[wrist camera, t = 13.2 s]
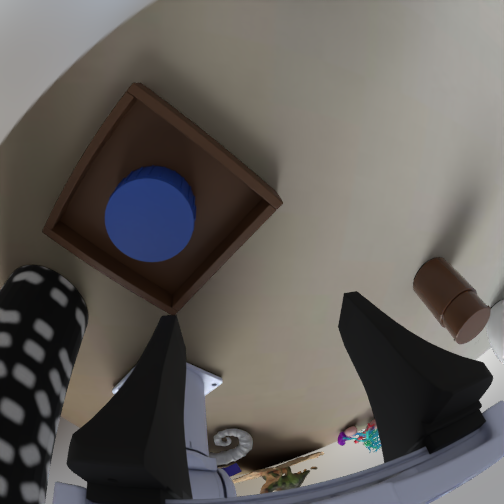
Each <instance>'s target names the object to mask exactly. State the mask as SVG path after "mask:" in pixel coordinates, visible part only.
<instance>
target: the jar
mask: <svg viewBox="0 0 504 504" xmlns="http://www.w3.org/2000/svg"><path fill="white" fill-rule="evenodd" d="M413 288H414V291H415V293H416V294H417V295H418V296H419V298H420V299H421V300H422V301H423V303H424V304H425V305H426V306H427V308H428V309H429V310H430V311H431V313H432V314H433V315H434V317H435V318H436V319H437V321H438V322H439V323H440V324H441V326H442V327H444V328H446V329H447V330H448V331H449V333H450V334H451V335H452V337H453V338H454V341H456V342H457V343H458V344H464V343H467V342H469V341H470V340H472V339H473V338H475V337H476V336H477V335H478V334H479V333H480V332H481V331H482V330H483V328H484V327H485V325H486V324H487V322H488V320H489V318H490V314H491V308H490V307H489V305H488V306H487V305H486V304H485V303H484V302H483V301H482V300H481V299H480V298H479V297H478V295H477V292H476V290H475V289H474V288H473V287H472V286H471V285H470V284H469V283H468V282H467V281H466V280H465V279H464V278H463V277H462V276H461V275H460V274H459V273H458V272H457V271H456V270H455V269H454V268H453V267H452V266H451V265H450V264H449V263H448V262H447V261H446V260H445V259H444V258H440V257H439V258H434V259H431V260H430V261H428V262H427V263H425V264H424V265H423V266H422V267H421V268H420V270H419V271H418V273H417V274H416V276H415V279H414V283H413Z"/></svg>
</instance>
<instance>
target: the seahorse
mask: <svg viewBox="0 0 504 504" xmlns="http://www.w3.org/2000/svg"><path fill="white" fill-rule="evenodd" d="M231 435H233V436H235V437H238V439H239V445H237V446H236V448H234V449H229V450H228V451H222V452H220V453H213V452H210V453H209V457H210V458H216V462H217V466H218V465H221V464H228V463H230V462H232V461H237V460H238V459H240V458H242V457H243V456H246V454H247V453H248V452H249V451H250V450H252V445H253V439H252V437H251V435H250V434H249V433H247V432H246V431H243V430H241V429H236V428H234V429H226V430H223V431H219V432H218V433H217V434H216V435H215V436H214V442H215V445H222V446H227V445H229V444H230V443H231V439H230V438H228V437H226V439H227V441H223V442H222V440H221V438H222V437H225V436H231Z"/></svg>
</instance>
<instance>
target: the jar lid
mask: <svg viewBox="0 0 504 504" xmlns="http://www.w3.org/2000/svg"><path fill="white" fill-rule="evenodd" d="M195 220H196V206H195V196H194V195H193V192H192V190H191V186H189V184H188V183H187V182H186V180H185V178H184V177H182V176H180V175H179V174H178V173H176V171H175V170H174V171H173V170H171V169H168V168H165V167H160V166H154V165H152V166H148V167H141V168H140V169H137V170H135V171H131V173H130V174H129V175H128V176H127V177H126V178H123V179H122V181H121V182H120V183H119V184H118V186H117V187H116V188H115V191H114V192H113V193H112V195H111V196H110V197H109V201H108V204H107V206H106V210H105V225H106V230H107V233H108V235H109V237H110V239H111V240H112V242H113V243H114V245H115V246H116V247H117V248H118V249H119V250H120V251H121V252H123V253H124V254H126V255H127V256H129V257H131V258H133V259H136V260H139V261H144V262H159V261H163V260H167V259H169V258H172V257H173V256H175V255H177V254H178V253H179V252H181V251H182V250H183V249H184V248H185V246H186V245H187V244H188V242H189V240H190V238H191V236H192V233H193V231H194V222H195Z"/></svg>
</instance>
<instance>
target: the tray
mask: <svg viewBox="0 0 504 504" xmlns="http://www.w3.org/2000/svg"><path fill="white" fill-rule="evenodd" d="M152 165H154V166H160V167H165V168H168V169H171V170H173V171H174V170H175V171H176V173H178V174H179V175H180V176H182V177H184V178H185V180H186V182H187V183H188V184H189V186H191V190H192V192H193V195H194V196H195V206H196V220H195V222H194V231H193V233H192V236H191V238H190V240H189V242H188V244H187V245H186V246H185V248H184V249H183V250H182V251H181V252H179V253H178V254H177V255H175V256H173V257H172V258H169V259H167V260H163V261H159V262H144V261H139V260H136V259H133V258H131V257H129V256H127V255H126V254H124V253H123V252H121V251H120V250H119V249H118V248H117V247H116V246H115V245H114V243H113V242H112V240H111V239H110V237H109V235H108V233H107V230H106V225H105V210H106V206H107V204H108V201H109V197H110V196H111V195H112V193H113V192H114V191H115V188H116V187H117V186H118V184H119V183H120V182H121V181H122V179H123V178H126V177H127V176H128V175H129V174H130V173H131V171H135V170H137V169H140V168H141V167H148V166H152ZM282 204H283V202H282V200H281V198H280V197H279V195H278V193H277V192H276V191H275V190H274V189H273V188H271V187H270V186H269V185H268V184H267V183H266V182H265V181H263V180H262V179H261V178H260V177H259V176H258V175H256V174H255V173H254V172H253V171H252V170H251V169H249V168H248V167H247V166H246V165H245V164H243V163H242V162H241V161H240V160H239V159H237V158H236V157H235V156H234V155H233V154H231V153H230V152H229V151H228V150H227V149H225V148H224V147H223V146H222V145H220V144H219V143H218V142H217V141H216V140H214V139H213V138H212V137H211V136H209V135H208V134H207V133H206V132H204V131H203V130H202V129H201V128H199V127H198V126H197V125H196V124H194V123H193V122H192V121H191V120H189V119H188V118H187V117H185V116H184V115H183V114H182V113H180V112H179V111H178V110H176V109H175V108H174V107H172V106H171V105H170V104H169V103H167V102H166V101H165V100H163V99H162V98H161V97H159V96H158V95H157V94H155V93H154V92H153V91H151V90H150V89H149V88H147V87H146V86H145V85H143V84H142V83H132V85H131V86H130V87H129V89H128V90H127V92H125V94H124V95H123V96H122V98H121V99H120V100H119V102H118V103H117V104H116V106H115V107H114V109H113V110H112V111H111V113H110V114H109V116H108V117H107V118H106V120H105V121H104V123H103V124H102V126H101V127H100V129H99V130H98V132H97V133H96V135H95V136H94V138H93V139H92V141H91V142H90V144H89V146H88V147H87V149H86V150H85V152H84V154H83V155H82V157H81V159H80V160H79V162H78V164H77V165H76V167H75V169H74V170H73V172H72V174H71V176H70V178H69V179H68V181H67V183H66V185H65V187H64V188H63V190H62V192H61V194H60V196H59V198H58V200H57V202H56V204H55V206H54V208H53V210H52V212H51V214H50V216H49V218H48V220H47V222H46V224H45V226H44V228H43V231H42V232H43V233H44V234H46V235H47V236H48V237H50V238H51V239H53V240H54V241H55V242H57V243H58V244H60V245H61V246H63V247H64V248H65V249H67V250H68V251H70V252H71V253H73V254H74V255H76V256H77V257H79V258H80V259H81V260H83V261H84V262H86V263H87V264H89V265H90V266H92V267H94V268H95V269H97V270H98V271H100V272H101V273H103V274H104V275H106V276H107V277H109V278H111V279H112V280H114V281H115V282H117V283H119V284H120V285H122V286H123V287H125V288H127V289H128V290H130V291H131V292H133V293H135V294H136V295H138V296H140V297H141V298H143V299H145V300H146V301H148V302H150V303H152V304H153V305H155V306H157V307H158V308H160V309H162V310H164V311H165V312H167V313H169V314H171V315H175V314H176V313H177V312H178V311H179V310H180V309H181V308H182V307H183V306H184V305H185V304H186V303H187V302H188V301H189V300H190V299H191V298H192V296H193V295H194V294H195V293H196V292H197V291H198V290H199V289H200V288H201V287H202V286H203V285H204V284H205V283H206V282H207V281H208V280H209V279H210V278H211V277H212V276H213V275H214V274H215V273H216V272H217V271H218V270H219V268H220V267H221V266H222V265H223V264H224V263H225V262H226V261H227V260H228V259H229V258H230V257H231V256H232V255H233V254H234V253H235V252H236V251H237V250H238V249H239V248H240V247H241V246H242V245H243V244H244V243H245V242H246V241H247V240H248V239H249V238H250V237H251V236H252V235H253V234H254V232H255V231H256V230H257V229H258V228H259V227H260V226H261V225H262V224H263V223H264V222H265V221H266V220H267V219H268V218H269V217H270V216H271V215H272V214H273V213H274V212H275V211H276V209H278V208H279V207H280V206H281V205H282Z"/></svg>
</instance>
